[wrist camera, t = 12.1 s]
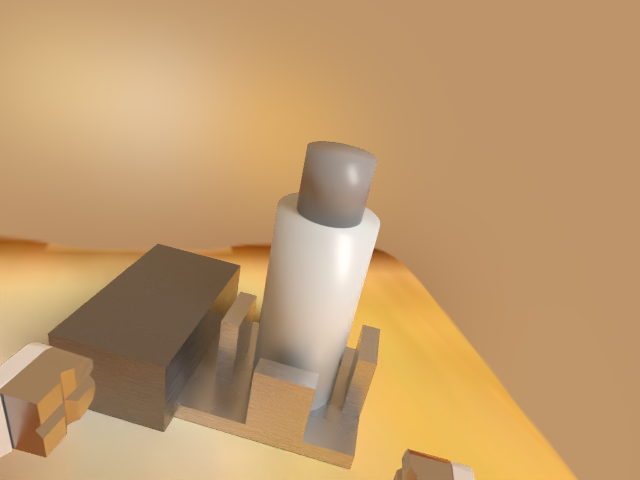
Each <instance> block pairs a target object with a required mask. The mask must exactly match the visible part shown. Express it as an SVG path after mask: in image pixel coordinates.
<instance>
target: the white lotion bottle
mask: <svg viewBox="0 0 640 480" xmlns="http://www.w3.org/2000/svg"><path fill="white" fill-rule="evenodd" d="M376 164H377V158H376V157H375V156H374V155H373V154H371V153H369V152H367V151H365V150H363V149H360V148H357V147H354V146H350V145H346V144H341V143H336V142H326V141H325V142H324V141H322V142H321V141H318V142H312V143H309V144H308V146H307V151H306V157H305V162H304V168H303V173H302V179H301V185H300V191H299V193H293V194H289V195H287V196H284V197H283V198H281V200H279V202H278V206H277V213H276V219H275V226H274V232H273V239H272V245H271V252H270V258H269V265H268V271H267V277H266V284H265V290H264V297H263V303H262V310H261V316H260V323H259V329H258V336H257V342H256V348H255V355H254V361H253V368H252V374H251V380H253V374H254V370H255V368H256V366H257V364H258V362H259V359H260V358H263V359H267V360H270V361H274V362H278V363H281V364H285V365H288V366H292V367H295V368H299V369H302V370H306V371H309V372H313V373H317V374H319V378H318V381H317V385H316V389H315V393H314V397H313V401H312V405H311V409H310V411H313V410H316V409H318V408H320V407H321V406H323V405H324V404H325V403H326V402H327V401H328V400H329V399H330V397H331V396H332V393H333V390H334V387H335V383H336V380H337V376H338V372H339V369H340V365H341V362H342V358H343V355H344V351H345V348H346V344H347V341H348V337H349V334H350V330H351V327H352V323H353V319H354V316H355V312H356V309H357V305H358V302H359V298H360V295H361V291H362V288H363V284H364V281H365V277H366V274H367V270H368V267H369V263H370V259H371V256H372V252H373V249H374V245H375V242H376V238H377V234H378V231H379V228H380V221H379V219H378V217H377V216H376V215H375V214H374V213H373V212H372V211H371V210H369V209H368V208H366V207H365V206H366V202H367V198H368V195H369V191H370V187H371V183H372V179H373V175H374V172H375V168H376Z"/></svg>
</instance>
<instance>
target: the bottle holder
mask: <svg viewBox="0 0 640 480" xmlns="http://www.w3.org/2000/svg"><path fill="white" fill-rule="evenodd" d="M239 274H240V265H236V264H232V263H228V262H225V261H221V260H217V259H213V258H210V257H206V256H202V255H198V254H194V253H191V252H187V251H183V250H179V249H176V248H172V247H168V246H164V245H160V244H157V245H156V246H155V247H153V248H152V249H151V250H150V251H148V252H147V253H146V254H145V255H144V256H142V257H141V258H140V259H139V260H137V261H136V262H135V263H134V264H133V265H131V266H130V267H129V268H128V269H126V270H125V271H124V272H123V273H122V274H120V275H119V276H118V277H117V278H116V279H114V280H113V281H112V282H111V283H109V284H108V285H107V286H106V287H105V288H103V289H102V290H101V291H100V292H98V293H97V294H96V295H95V296H94V297H92V298H91V299H90V300H89V301H87V302H86V303H85V304H84V305H83V306H81V307H80V308H79V309H78V310H76V311H75V312H74V313H73V314H72V315H70V316H69V317H68V318H67V319H66V320H64V321H63V322H62V323H61V324H59V325H58V326H57V327H56V328H55V329H53V330H52V331H51V332H50V333H48V337H49V344H50V346H52V347H56V348H59V349H62V350H65V351H68V352H71V353H74V354H78V355H81V356H84V357H87V358H90V359H93V367H94V370H93V371H92V372H91V373H90V374H89V375H90V376H91V378H92V379H93V380H94V382H95V393H94V397H93V400H92V402H91V403H90V405H89V407H88V409H90V410H93V411H96V412H100V413H103V414H106V415H110V416H113V417H116V418H120V419H123V420H126V421H130V422H133V423H136V424H140V425H143V426H146V427H149V428H153V429H156V430H159V431H163V432H164V431H165V429H166V428H167V426H168V425H169V423H170V421H171V420H172V418H173V416H174V417H177V418H180V419H184V420H187V421H190V422H194V423H197V424H201V425H204V426H207V427H211V428H214V429H217V430H221V431H224V432H227V433H231V434H234V435H237V436H241V437H244V438H247V439H251V440H254V441H258V442H261V443H264V444H268V445H271V446H274V447H278V448H281V449H284V450H288V451H291V452H294V453H298V454H301V455H304V456H308V457H311V458H314V459H318V460H321V461H325V462H328V463H331V464H335V465H338V466H341V467H345V468H348V469H350V468H351V465H352V462H353V459H354V456H355V447H356V439H357V431H358V423H359V416H360V413H361V410H362V407H363V404H364V401H365V398H366V396H367V393H368V390H369V387H370V384H371V381H372V378H373V375H374V372H375V369H376V366H377V357H378V345H379V334H380V329H377V328H373V327H369V326H366V325H363V327H362V330H361V334H360V337H359V340H358V344H357V347H356V349H352V348H348V347H346V348H345V351H344V355H343V358H342V362H341V365H340V369H339V372H338V376H337V380H336V383H335V387H334V390H333V393H332V396H331V397H330V399H329V400H328V401H327V402H326V403H325V404H324V405H323V406H321V407H320V408H318V409H316V410H313V411H310V409H311V405H312V401H313V397H314V393H315V389H316V385H317V381H318V378H319V374H317V373H313V372H309V371H306V370H302V369H299V368H295V367H292V366H288V365H285V364H281V363H278V362H274V361H270V360H267V359H263V358H260V359H259V362H258V364H257V366H256V368H255V370H254V374H253V380H251V374H252V368H253V361H254V355H255V348H256V342H257V336H258V329H259V323H258V322H254V321H253V318H254V312H255V305H256V298H257V296H254V295H251V294H247V293H243V292H240V294H239V295H238V297H237V291H238V282H239Z"/></svg>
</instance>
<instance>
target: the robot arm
mask: <svg viewBox="0 0 640 480" xmlns="http://www.w3.org/2000/svg"><path fill="white" fill-rule="evenodd" d="M93 370H94V367H93V359H90V358H87V357H84V356H81V355H78V354H74V353H71V352H68V351H65V350H62V349H59V348H56V347H52V346H49V345H46V344H42V343H39V342H36V341H35V342H32V343H29V344H27V345H26V346H24V347H23V348H22V349H21V350H19V351H18V352H17V353H16V354H14V355H13V356H12V357H11V358H9V359H8V360H7V361H6V362H4V363H3V364H2V365H1V366H0V457H2V456H4V455H6V454H7V453H9V452H11V451H12V450H13V449H17V450H20V451H24V452H28V453H31V454H35V455H39V456H42V457H47V456H48V455H49V454H50V453H51V452H52V450H53V449H54V448H55V447H56V446H57V445H58V444H59V442H60V441H61V440H62V439H63V438H64V437H65V435H66V434H67V425H68V424H70V423H72V422H74V421H76V420H79V419H80V418H81V417H82V415H83V414H84V413H85V412H86V411H87V409H88V407H89V405H90V403H91V402H92V400H93V397H94V393H95V382H94V380H93V379H92V378H91V376H90V375H89V374H90V373H91V372H92V371H93ZM12 448H13V449H12ZM394 480H475V478H474V472H473V470H472V468H471V467H469V466H466V465H462V464H459V463H455V462H452V461H448V460H447V459H443V458H439V457H436V456H432V455H428V454H425V453H421V452H417V451H414V450H410V449H408V450H407V451H406V452H405V454H404V456H403V458H402V468H401V469H399V470H397V472H396V475H395V477H394Z"/></svg>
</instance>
